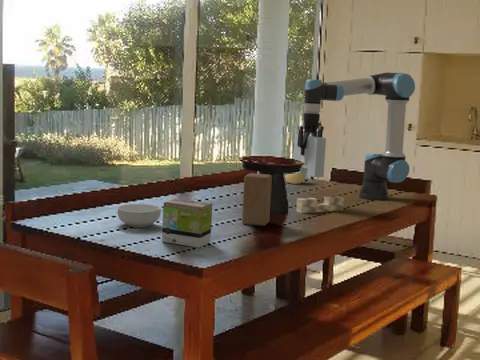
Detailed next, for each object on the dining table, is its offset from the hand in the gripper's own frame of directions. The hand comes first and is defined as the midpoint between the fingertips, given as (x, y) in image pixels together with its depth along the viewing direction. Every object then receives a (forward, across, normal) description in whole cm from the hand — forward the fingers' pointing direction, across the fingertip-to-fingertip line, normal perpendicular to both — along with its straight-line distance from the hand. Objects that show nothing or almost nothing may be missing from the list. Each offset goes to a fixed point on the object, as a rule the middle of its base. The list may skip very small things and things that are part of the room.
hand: (308, 162), depth 345 cm
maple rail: (+21, +1, +13) cm, 25 cm away
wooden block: (+21, +45, +28) cm, 57 cm away
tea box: (+21, +87, +50) cm, 103 cm away
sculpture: (+21, -36, -62) cm, 75 cm away
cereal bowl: (+21, +92, +18) cm, 96 cm away
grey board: (+6, 0, 0) cm, 6 cm away
